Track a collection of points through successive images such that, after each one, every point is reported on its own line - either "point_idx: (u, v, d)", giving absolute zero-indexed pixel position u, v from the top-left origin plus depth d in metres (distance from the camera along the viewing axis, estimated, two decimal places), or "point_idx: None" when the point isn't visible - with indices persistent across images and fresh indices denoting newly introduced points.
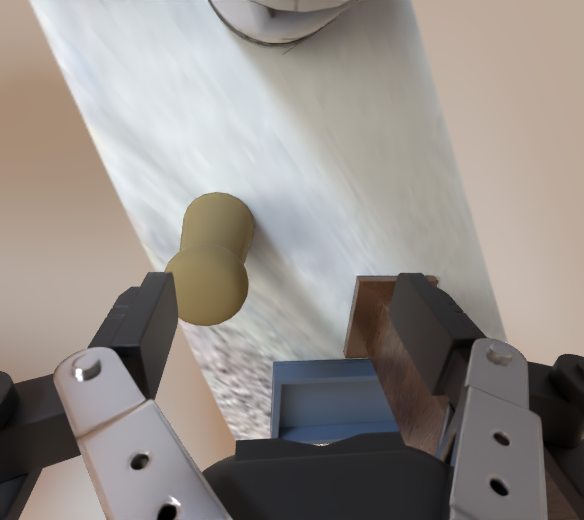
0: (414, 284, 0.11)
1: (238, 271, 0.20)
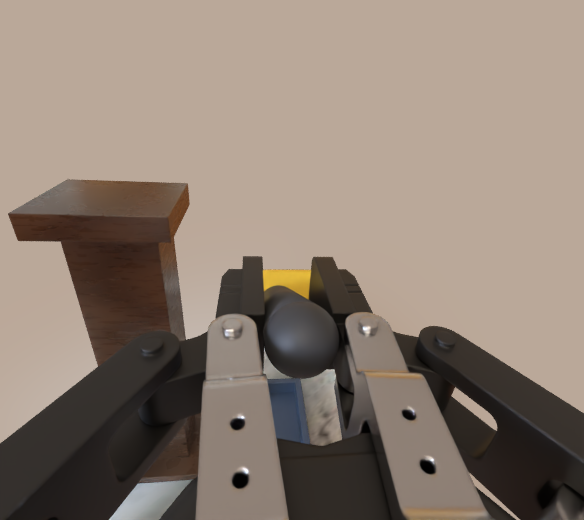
0: (319, 266, 0.12)
1: None
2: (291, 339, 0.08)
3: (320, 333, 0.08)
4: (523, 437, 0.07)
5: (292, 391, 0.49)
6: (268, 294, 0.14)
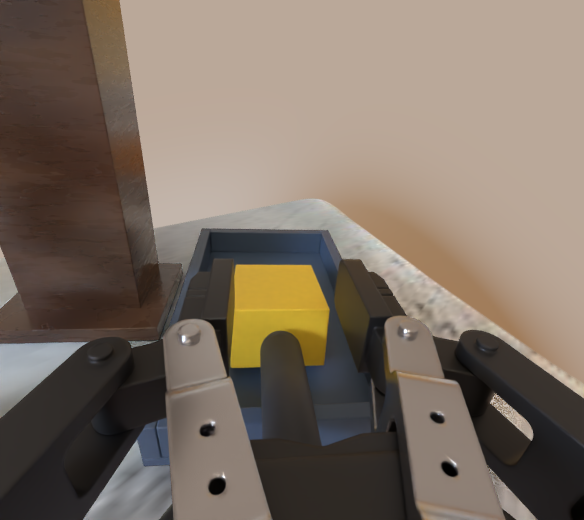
0: (349, 269, 0.12)
1: None
2: None
3: None
4: (560, 447, 0.07)
5: (316, 251, 0.31)
6: (270, 378, 0.13)
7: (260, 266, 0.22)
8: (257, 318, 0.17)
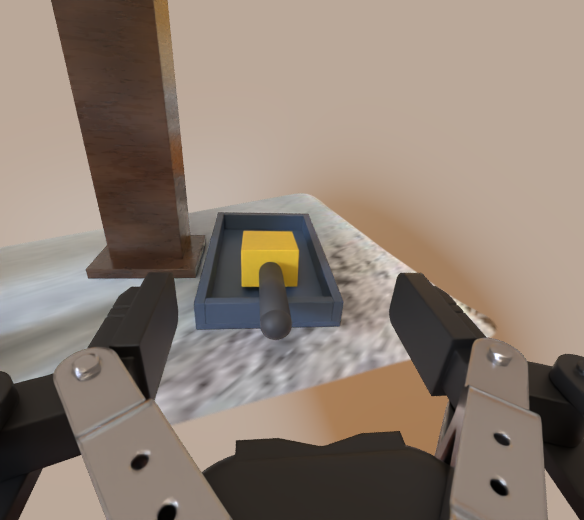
0: (414, 284, 0.11)
1: None
2: (270, 329, 0.20)
3: (282, 326, 0.20)
4: None
5: (300, 229, 0.44)
6: (264, 278, 0.25)
7: (259, 231, 0.34)
8: (257, 255, 0.29)
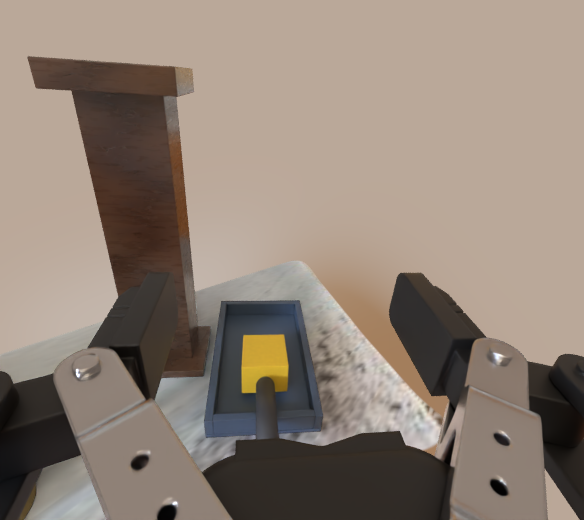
0: (414, 284, 0.11)
1: None
2: None
3: None
4: None
5: (292, 313, 0.50)
6: (259, 400, 0.32)
7: (256, 336, 0.41)
8: (254, 370, 0.36)
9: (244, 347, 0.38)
